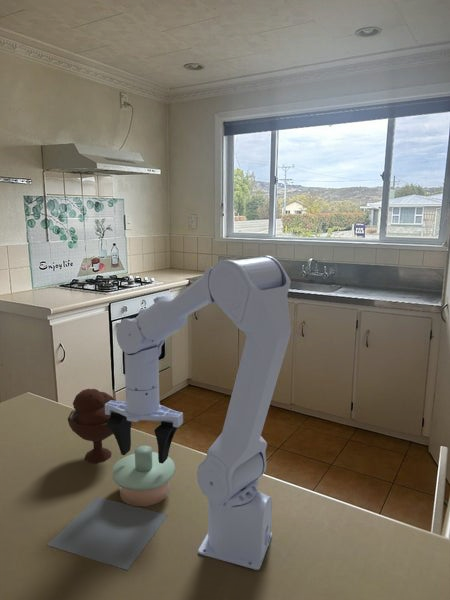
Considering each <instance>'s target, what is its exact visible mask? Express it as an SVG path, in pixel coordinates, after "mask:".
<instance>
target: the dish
mask: <svg viewBox="0 0 450 600" xmlns="http://www.w3.org/2000/svg"><path fill="white" fill-rule="evenodd" d="M170 491H171V479H170V480H169V481H168V482H167V483H165V484H163V485H161V486H159V487H156V488H153V489H148V490H130V489H126V488H123V487H121V486H119V497H120V498H121V500H122V501H123V502H124V504H127V505H131V506H135V507H149V506H153V505H156V504H159V503H160V502H162V501H164V500H165V499H166V498H168V496H169V495H170Z"/></svg>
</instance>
